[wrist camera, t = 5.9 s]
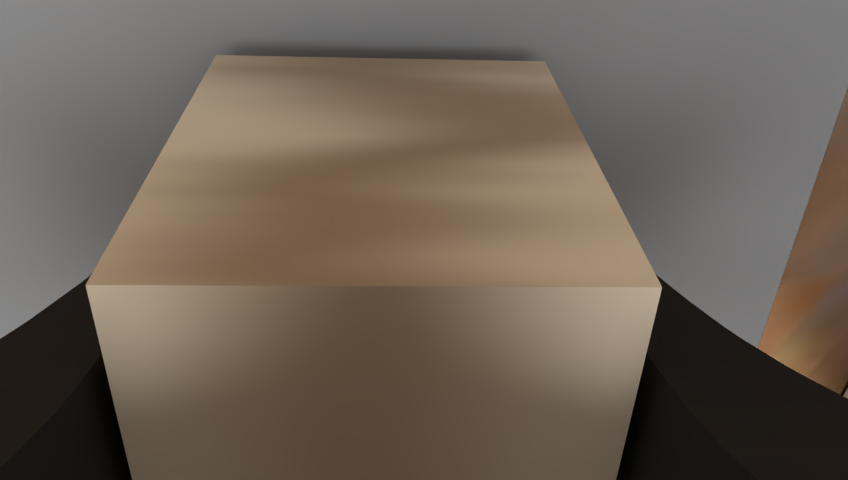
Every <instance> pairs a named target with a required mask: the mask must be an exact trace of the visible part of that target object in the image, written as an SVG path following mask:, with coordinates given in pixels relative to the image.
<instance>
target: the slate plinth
mask: <svg viewBox="0 0 848 480" xmlns="http://www.w3.org/2000/svg"><path fill="white" fill-rule="evenodd" d="M216 55H239V56H291V57H343V58H395V59H447V60H499V61H545V63H546V65H547V67H548V69H549V71H550V72H551V74H552V76H553V78H554V80H555V82H556V84H557V86H558V88H559V90H560V92H561V94H562V96H563V97H564V99H565V101H566V103H567V105H568V107H569V109H570V111H571V113H572V115H573V117H574V119H575V121H576V122H577V124H578V126H579V128H580V130H581V132H582V134H583V136H584V138H585V140H586V142H587V144H588V146H589V147H590V149H591V151H592V153H593V155H594V157H595V159H596V161H597V163H598V165H599V167H600V169H601V170H602V172H603V174H604V176H605V178H606V180H607V182H608V184H609V186H610V188H611V190H612V192H613V194H614V195H615V197H616V199H617V201H618V203H619V205H620V207H621V209H622V211H623V213H624V215H625V217H626V219H627V220H628V222H629V224H630V226H631V228H632V230H633V232H634V234H635V236H636V238H637V240H638V242H639V244H640V245H641V247H642V249H643V251H644V253H645V255H646V257H647V259H648V261H649V263H650V265H651V267H652V269H653V270H654V272H655V274H656V275H658V276H659V277H660V278H661V279H662V280H664V281H665V282H666V283H667V284H668V285H670V286H671V287H672V288H673V289H675V290H676V291H677V292H678V293H680V294H681V295H682V296H683V297H685V298H686V299H687V300H689V301H690V302H691V303H692V304H694V305H695V306H697V307H698V308H699V309H701V310H702V311H703V312H705V313H706V314H707V315H709V316H710V317H711V318H713V319H714V320H716V321H717V322H718V323H720V324H721V325H722V326H724V327H725V328H727V329H728V330H730V331H731V332H733V333H734V334H736V335H737V336H739V337H740V338H742V339H743V340H745V341H746V342H748V343H750V344H751V345H753V346H754V347H756V348H758V346H759V343H760V340H761V337H762V334H763V331H764V328H765V325H766V322H767V319H768V317H769V314H770V311H771V308H772V305H773V302H774V299H775V296H776V293H777V290H778V288H779V285H780V282H781V279H782V276H783V273H784V270H785V267H786V264H787V261H788V259H789V256H790V253H791V250H792V247H793V244H794V241H795V238H796V235H797V232H798V230H799V227H800V224H801V221H802V218H803V215H804V212H805V209H806V206H807V203H808V201H809V198H810V195H811V192H812V189H813V186H814V183H815V180H816V177H817V174H818V172H819V169H820V166H821V163H822V160H823V157H824V154H825V151H826V148H827V145H828V143H829V140H830V137H831V134H832V131H833V128H834V125H835V122H836V119H837V116H838V114H839V111H840V108H841V105H842V102H843V99H844V96H845V93H846V90H847V87H848V0H0V338H2V337H4V336H5V335H7V334H8V333H10V332H11V331H13V330H15V329H16V328H18V327H19V326H21V325H22V324H24V323H25V322H27V321H28V320H30V319H31V318H33V317H34V316H35V315H37V314H38V313H40V312H41V311H42V310H44V309H45V308H46V307H48V306H49V305H51V304H52V303H53V302H55V301H56V300H58V299H59V298H60V297H62V296H63V295H64V294H66V293H67V292H69V291H70V290H71V289H73V288H74V287H76V286H77V285H78V284H80V283H81V282H82V281H84V280H85V279H86V278H87V277H89V276H90V275H91V274H92V273H93V271H94V269H95V267H96V266H97V264H98V262H99V260H100V259H101V257H102V255H103V253H104V252H105V250H106V248H107V246H108V245H109V243H110V241H111V239H112V238H113V236H114V234H115V232H116V230H117V229H118V227H119V225H120V223H121V222H122V220H123V218H124V216H125V215H126V213H127V211H128V209H129V208H130V206H131V204H132V202H133V201H134V199H135V197H136V195H137V193H138V192H139V190H140V188H141V186H142V185H143V183H144V181H145V179H146V178H147V176H148V174H149V172H150V171H151V169H152V167H153V165H154V163H155V162H156V160H157V158H158V156H159V155H160V153H161V151H162V149H163V148H164V146H165V144H166V142H167V141H168V139H169V137H170V135H171V134H172V132H173V130H174V128H175V126H176V125H177V123H178V121H179V119H180V118H181V116H182V114H183V112H184V111H185V109H186V107H187V105H188V104H189V102H190V100H191V98H192V97H193V95H194V93H195V91H196V89H197V88H198V86H199V84H200V82H201V81H202V79H203V77H204V75H205V74H206V72H207V70H208V68H209V67H210V65H211V63H212V61H213V60H214V58H215V56H216Z"/></svg>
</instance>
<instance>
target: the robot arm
mask: <svg viewBox="0 0 848 480" xmlns="http://www.w3.org/2000/svg"><path fill="white" fill-rule="evenodd" d="M91 275H92V274H91ZM91 275H90V276H91ZM90 276H89V277H87V278H86V279H85V280H84V281H82V282H81V283H80V284H78V285H77V286H76V287H74V288H73V289H71V290H70V291H69V292H67V293H66V294H64V295H63V296H62V297H60V298H59V299H58V300H56V301H55V302H53V303H52V304H51V305H49V306H48V307H46V308H45V309H44V310H42V311H41V312H40V313H38V314H37V315H35V316H34V317H33V318H31V319H30V320H28V321H27V322H25V323H24V324H22V325H21V326H19V327H18V328H16V329H15V330H13V331H11V332H10V333H8V334H7V335H5V336H4V337H2V338H0V480H132V478H131V473H130V469H129V465H128V461H127V457H126V452H125V448H124V444H123V440H122V436H121V432H120V427H119V423H118V419H117V415H116V411H115V406H114V402H113V398H112V394H111V390H110V386H109V381H108V377H107V373H106V369H105V365H104V360H103V356H102V352H101V348H100V344H99V340H98V335H97V331H96V327H95V323H94V319H93V315H92V310H91V306H90V302H89V298H88V294H87V289H86V283H87V282H88V280H89V278H90ZM656 276H657V278H658V280H659V282H660V284H661V286H662V290H661V295H660V299H659V303H658V307H657V311H656V315H655V320H654V324H653V328H652V332H651V336H650V340H649V345H648V349H647V353H646V357H645V361H644V366H643V370H642V374H641V378H640V382H639V386H638V391H637V395H636V399H635V403H634V407H633V411H632V416H631V420H630V424H629V428H628V432H627V436H626V441H625V445H624V449H623V453H622V457H621V461H620V466H619V470H618V474H617V478H616V480H848V399H847V398H845V397H843V396H841V395H839V394H838V393H836V392H834V391H832V390H830V389H828V388H826V387H824V386H822V385H820V384H818V383H816V382H814V381H812V380H810V379H809V378H807V377H805V376H803V375H801V374H799V373H798V372H796V371H794V370H792V369H791V368H789V367H787V366H785V365H784V364H782V363H780V362H779V361H777V360H775V359H774V358H772V357H770V356H769V355H767V354H766V353H764V352H762V351H761V350H759V349H758V348H756V347H754V346H753V345H751V344H750V343H748V342H746V341H745V340H743V339H742V338H740V337H739V336H737V335H736V334H734V333H733V332H731V331H730V330H728V329H727V328H725V327H724V326H722V325H721V324H720V323H718V322H717V321H716V320H714V319H713V318H711V317H710V316H709V315H707V314H706V313H705V312H703V311H702V310H701V309H699V308H698V307H697V306H695V305H694V304H692V303H691V302H690V301H689V300H687V299H686V298H685V297H683V296H682V295H681V294H680V293H678V292H677V291H676V290H675V289H673V288H672V287H671V286H670V285H668V284H667V283H666V282H665V281H664V280H662V279H661V278H660V277H659V276H658V275H656Z"/></svg>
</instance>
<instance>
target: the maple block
mask: <svg viewBox="0 0 848 480" xmlns="http://www.w3.org/2000/svg"><path fill="white" fill-rule="evenodd" d="M86 289H87V294H88V298H89V302H90V306H91V310H92V315H93V319H94V323H95V327H96V331H97V335H98V340H99V344H100V348H101V352H102V356H103V360H104V365H105V369H106V373H107V377H108V381H109V386H110V390H111V394H112V398H113V402H114V406H115V411H116V415H117V419H118V423H119V427H120V432H121V436H122V440H123V444H124V448H125V452H126V457H127V461H128V465H129V469H130V473H131V478H132V480H616V478H617V474H618V470H619V466H620V461H621V457H622V453H623V449H624V445H625V441H626V436H627V432H628V428H629V424H630V420H631V416H632V411H633V407H634V403H635V399H636V395H637V391H638V386H639V382H640V378H641V374H642V370H643V366H644V361H645V357H646V353H647V349H648V345H649V340H650V336H651V332H652V328H653V324H654V320H655V315H656V311H657V307H658V303H659V299H660V295H661V290H662V286H661V284H660V282H659V280H658V278H657V276H656V274H655V272H654V270H653V269H652V267H651V265H650V263H649V261H648V259H647V257H646V255H645V253H644V251H643V249H642V247H641V245H640V244H639V242H638V240H637V238H636V236H635V234H634V232H633V230H632V228H631V226H630V224H629V222H628V220H627V219H626V217H625V215H624V213H623V211H622V209H621V207H620V205H619V203H618V201H617V199H616V197H615V195H614V194H613V192H612V190H611V188H610V186H609V184H608V182H607V180H606V178H605V176H604V174H603V172H602V170H601V169H600V167H599V165H598V163H597V161H596V159H595V157H594V155H593V153H592V151H591V149H590V147H589V146H588V144H587V142H586V140H585V138H584V136H583V134H582V132H581V130H580V128H579V126H578V124H577V122H576V121H575V119H574V117H573V115H572V113H571V111H570V109H569V107H568V105H567V103H566V101H565V99H564V97H563V96H562V94H561V92H560V90H559V88H558V86H557V84H556V82H555V80H554V78H553V76H552V74H551V72H550V71H549V69H548V67H547V65H546V63H545V61H499V60H447V59H395V58H343V57H291V56H239V55H216V56H215V58H214V60H213V61H212V63H211V65H210V67H209V68H208V70H207V72H206V74H205V75H204V77H203V79H202V81H201V82H200V84H199V86H198V88H197V89H196V91H195V93H194V95H193V97H192V98H191V100H190V102H189V104H188V105H187V107H186V109H185V111H184V112H183V114H182V116H181V118H180V119H179V121H178V123H177V125H176V126H175V128H174V130H173V132H172V134H171V135H170V137H169V139H168V141H167V142H166V144H165V146H164V148H163V149H162V151H161V153H160V155H159V156H158V158H157V160H156V162H155V163H154V165H153V167H152V169H151V171H150V172H149V174H148V176H147V178H146V179H145V181H144V183H143V185H142V186H141V188H140V190H139V192H138V193H137V195H136V197H135V199H134V201H133V202H132V204H131V206H130V208H129V209H128V211H127V213H126V215H125V216H124V218H123V220H122V222H121V223H120V225H119V227H118V229H117V230H116V232H115V234H114V236H113V238H112V239H111V241H110V243H109V245H108V246H107V248H106V250H105V252H104V253H103V255H102V257H101V259H100V260H99V262H98V264H97V266H96V267H95V269H94V271H93V273H92V275H91V276H90V278H89V280H88V282H87V283H86Z"/></svg>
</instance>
